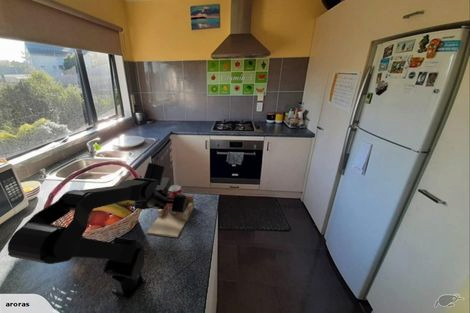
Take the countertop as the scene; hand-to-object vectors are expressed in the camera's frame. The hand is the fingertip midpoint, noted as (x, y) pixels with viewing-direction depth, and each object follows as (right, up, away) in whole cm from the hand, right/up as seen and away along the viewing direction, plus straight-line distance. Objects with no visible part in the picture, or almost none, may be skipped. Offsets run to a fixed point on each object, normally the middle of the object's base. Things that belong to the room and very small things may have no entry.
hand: (169, 205), depth 81 cm
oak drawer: (0, -7, +5) cm, 8 cm away
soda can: (0, -5, +9) cm, 10 cm away
